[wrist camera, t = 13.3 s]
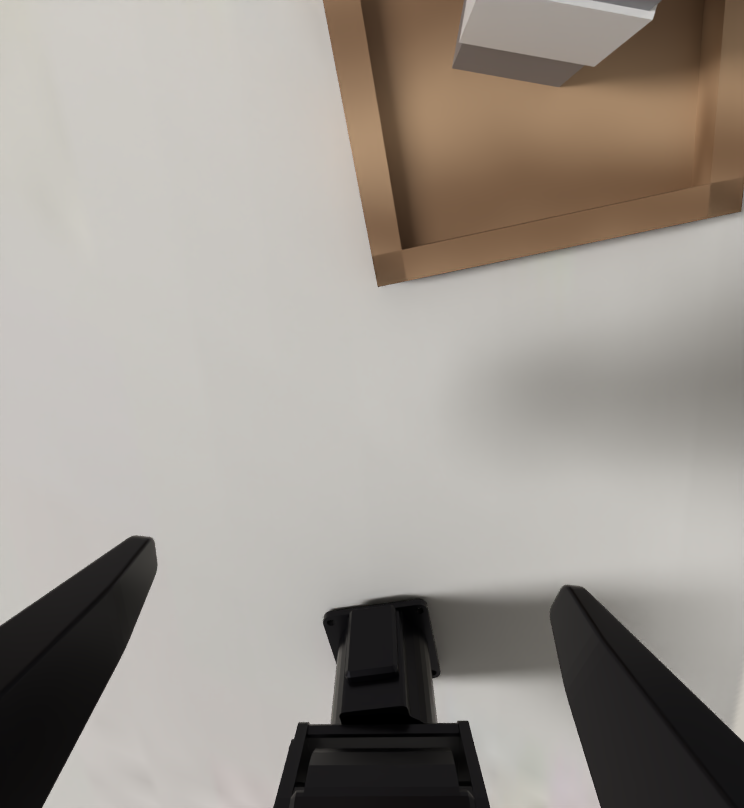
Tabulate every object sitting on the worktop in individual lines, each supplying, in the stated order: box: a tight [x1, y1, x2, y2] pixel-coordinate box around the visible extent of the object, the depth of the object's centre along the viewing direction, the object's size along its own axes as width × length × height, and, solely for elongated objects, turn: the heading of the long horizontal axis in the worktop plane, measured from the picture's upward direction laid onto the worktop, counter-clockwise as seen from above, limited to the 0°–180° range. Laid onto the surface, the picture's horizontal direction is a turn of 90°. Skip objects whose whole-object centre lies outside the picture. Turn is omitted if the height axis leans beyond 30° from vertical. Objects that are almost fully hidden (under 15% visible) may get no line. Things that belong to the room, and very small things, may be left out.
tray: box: [323, 0, 744, 287], centre depth 15 cm, size 16×14×2 cm
